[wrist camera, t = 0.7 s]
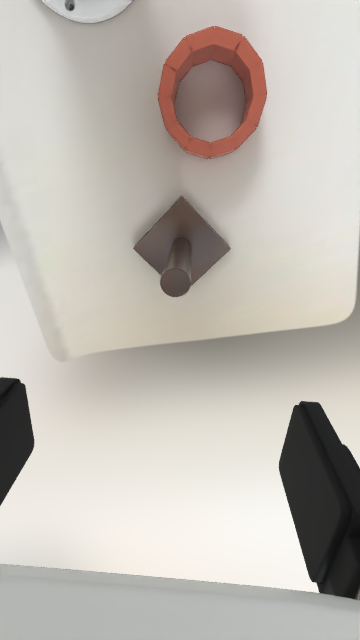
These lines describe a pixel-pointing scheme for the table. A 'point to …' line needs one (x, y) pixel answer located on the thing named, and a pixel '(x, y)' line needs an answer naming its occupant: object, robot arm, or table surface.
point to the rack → (181, 248)
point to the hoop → (223, 50)
